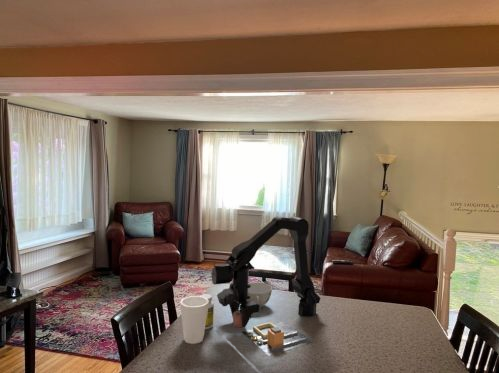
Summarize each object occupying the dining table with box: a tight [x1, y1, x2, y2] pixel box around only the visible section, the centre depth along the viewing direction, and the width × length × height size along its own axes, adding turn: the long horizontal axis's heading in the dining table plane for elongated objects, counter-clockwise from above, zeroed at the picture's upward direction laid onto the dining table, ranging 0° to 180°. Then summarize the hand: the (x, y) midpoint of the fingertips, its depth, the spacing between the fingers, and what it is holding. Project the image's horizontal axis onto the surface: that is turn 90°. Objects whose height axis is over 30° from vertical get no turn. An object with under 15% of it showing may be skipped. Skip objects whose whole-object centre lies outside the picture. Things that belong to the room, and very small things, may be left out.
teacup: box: [246, 281, 273, 309], centre depth 146 cm, size 15×12×8 cm
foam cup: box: [179, 295, 209, 345], centre depth 118 cm, size 10×9×13 cm
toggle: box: [267, 327, 284, 347], centre depth 115 cm, size 4×4×5 cm
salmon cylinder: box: [232, 310, 243, 328], centre depth 128 cm, size 4×4×6 cm
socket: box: [252, 321, 276, 339], centre depth 123 cm, size 7×7×1 cm
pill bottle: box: [199, 293, 215, 330], centre depth 128 cm, size 6×6×11 cm
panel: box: [241, 320, 314, 357], centre depth 120 cm, size 18×17×2 cm
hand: (239, 323), depth 128 cm, fingers open, 7 cm apart
